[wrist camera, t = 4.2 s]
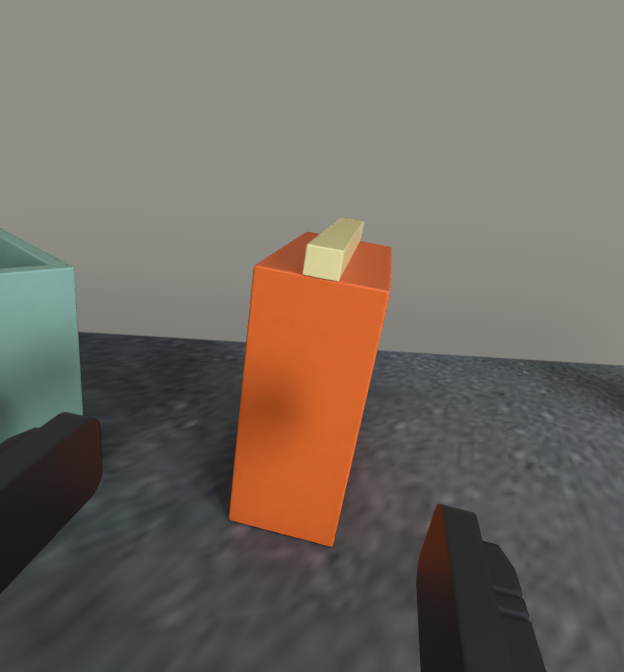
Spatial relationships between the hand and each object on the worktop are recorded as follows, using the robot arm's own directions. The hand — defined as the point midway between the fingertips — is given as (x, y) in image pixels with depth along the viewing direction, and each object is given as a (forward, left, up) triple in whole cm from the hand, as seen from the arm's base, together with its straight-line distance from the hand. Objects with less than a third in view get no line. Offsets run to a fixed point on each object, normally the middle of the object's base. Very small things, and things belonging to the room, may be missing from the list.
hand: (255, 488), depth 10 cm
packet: (-5, +9, -7) cm, 12 cm away
